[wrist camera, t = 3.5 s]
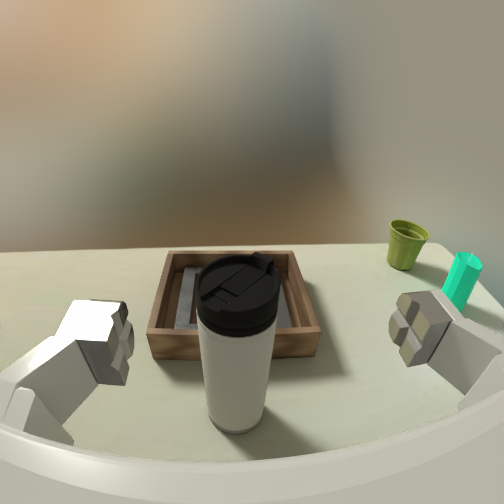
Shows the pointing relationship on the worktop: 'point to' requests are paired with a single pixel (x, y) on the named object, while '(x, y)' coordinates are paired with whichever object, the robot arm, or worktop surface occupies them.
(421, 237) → the plant pot
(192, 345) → the open box
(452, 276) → the candle
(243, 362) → the travel mug
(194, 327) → the plate
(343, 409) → the worktop surface
